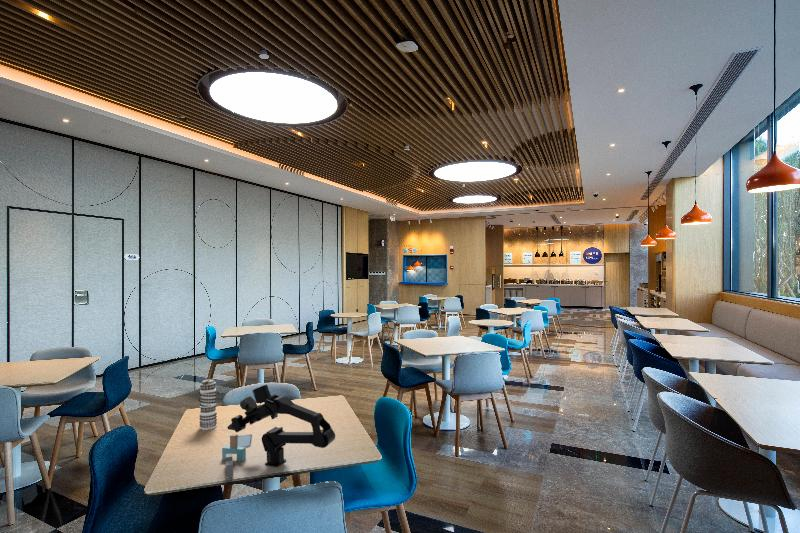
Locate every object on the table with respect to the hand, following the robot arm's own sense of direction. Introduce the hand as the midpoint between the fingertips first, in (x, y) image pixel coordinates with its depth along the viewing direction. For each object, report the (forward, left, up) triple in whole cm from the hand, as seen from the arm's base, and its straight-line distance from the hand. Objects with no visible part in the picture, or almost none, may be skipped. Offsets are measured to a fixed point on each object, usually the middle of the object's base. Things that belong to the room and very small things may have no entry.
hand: (234, 424), depth 188 cm
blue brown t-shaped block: (-1, +1, -15) cm, 15 cm away
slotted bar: (-8, +11, -15) cm, 20 cm away
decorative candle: (+42, -26, -15) cm, 52 cm away
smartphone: (+9, -16, -15) cm, 24 cm away
